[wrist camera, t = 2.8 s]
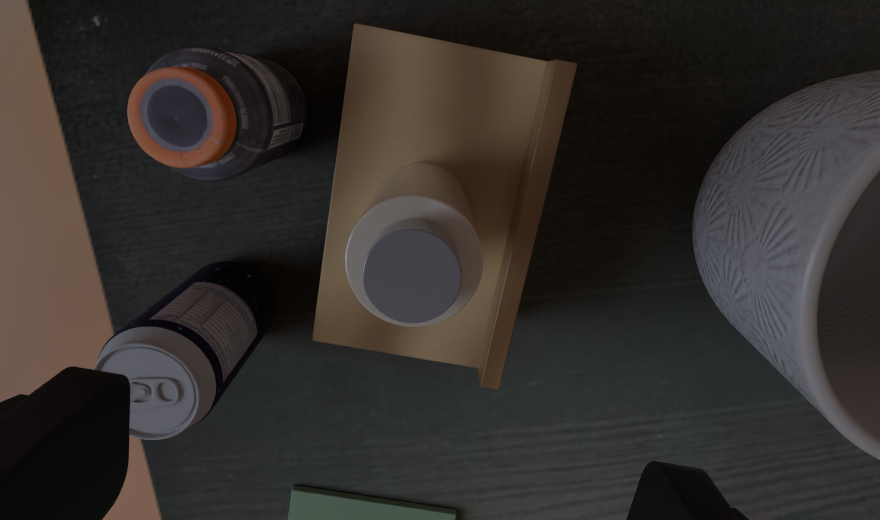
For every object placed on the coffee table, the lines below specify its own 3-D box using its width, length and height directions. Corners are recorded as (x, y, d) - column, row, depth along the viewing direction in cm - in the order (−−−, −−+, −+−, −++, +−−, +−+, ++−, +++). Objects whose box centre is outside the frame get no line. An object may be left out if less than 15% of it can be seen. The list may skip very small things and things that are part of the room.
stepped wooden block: (334, 295, 37) (303, 358, 28) (371, 36, 32) (347, 17, 24) (484, 321, 37) (499, 390, 29) (541, 70, 33) (578, 63, 24)
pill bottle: (207, 154, 34) (101, 183, 23) (207, 50, 33) (92, 30, 22) (307, 165, 34) (247, 199, 24) (311, 62, 33) (249, 48, 22)
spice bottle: (366, 248, 29) (327, 333, 19) (380, 154, 27) (347, 190, 17) (459, 264, 29) (470, 357, 19) (477, 172, 28) (501, 218, 18)
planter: (620, 124, 34) (759, 150, 19) (908, 16, 32) (1299, -46, 18) (686, 364, 38) (840, 532, 24) (942, 280, 37) (1275, 405, 22)
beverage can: (186, 257, 36) (69, 335, 25) (275, 257, 36) (200, 334, 25) (197, 339, 38) (92, 448, 26) (282, 338, 38) (215, 447, 26)
